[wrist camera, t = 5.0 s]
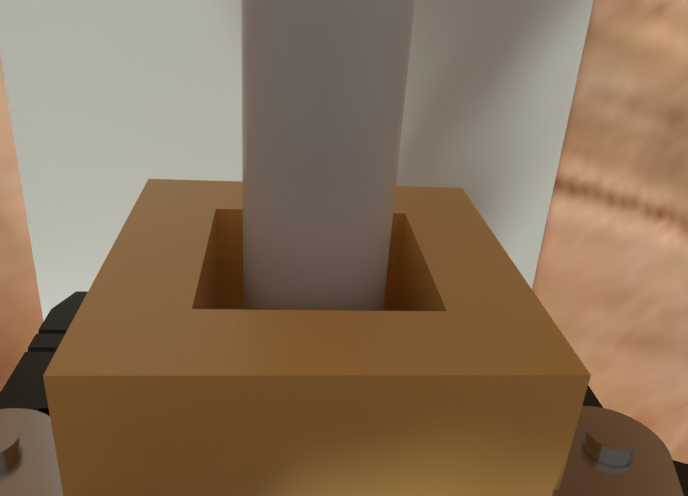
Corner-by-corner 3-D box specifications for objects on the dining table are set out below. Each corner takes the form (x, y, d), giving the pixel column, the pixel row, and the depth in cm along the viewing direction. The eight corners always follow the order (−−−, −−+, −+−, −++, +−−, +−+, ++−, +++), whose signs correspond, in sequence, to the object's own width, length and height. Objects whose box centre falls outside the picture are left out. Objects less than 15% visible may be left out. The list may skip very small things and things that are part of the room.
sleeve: (168, 456, 11) (105, 745, 7) (148, 178, 9) (43, 375, 5) (422, 452, 12) (494, 723, 8) (461, 188, 9) (591, 374, 5)
